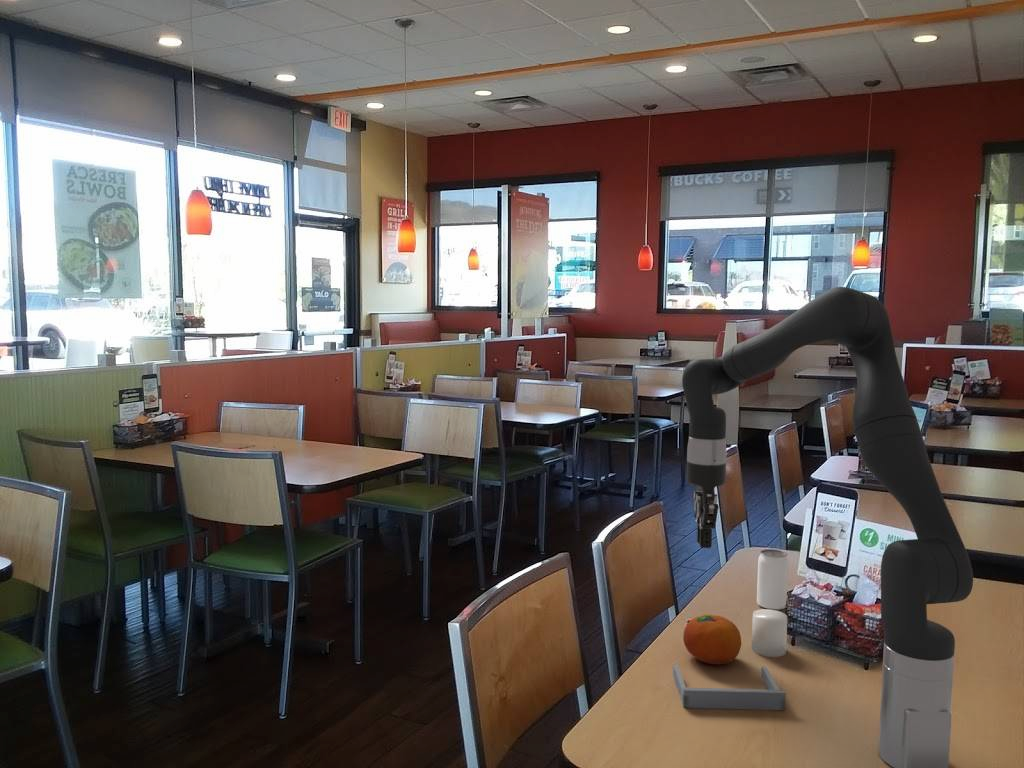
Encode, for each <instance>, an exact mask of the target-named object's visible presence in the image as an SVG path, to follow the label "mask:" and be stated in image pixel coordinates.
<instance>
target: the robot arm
mask: <svg viewBox="0 0 1024 768" xmlns="http://www.w3.org/2000/svg"><path fill="white" fill-rule="evenodd" d="M825 341H829V342H831V343H834V344H837V345H841V346H844V347H845V348H846V350H847V353H848V354H849V356H850V359H851V362H852V365H853V368H854V371H855V376H856V381H857V383H856V384H857V385H856V386H857V387H856V393H855V398H854V402H853V406H852V408H853V409H852V417H851V418H852V419H851V420H852V428H853V432H854V436H855V439H856V442H857V445H858V446H857V447H858V449H859V450H858V451H859V453H860V456H861V459H862V461H863V463H864V465H865V466H866V468H867V470H868V471H869V472H870V474H871V475H872V476H873V478H875V479H876V481H878V482H879V484H881V486H882V487H884V489H885V490H887V491H888V493H889V494H891V496H892V497H894V499H895V500H896V501H897V502H898V503H899V504H900V507H902V508H903V510H904V511H905V513H906V515H907V516H908V518H909V520H910V523H911V526H913V530H914V533H915V536H916V539H915V538H913V539H912V538H911V539H900V540H895V541H892V542H890V543H889V544H888V545H887V546H886V547H885V549H884V552H883V554H882V558H881V563H880V618H881V623H882V627H883V633H884V634H883V635H884V638H883V639H884V640H883V655H882V658H883V659H882V671H881V673H882V674H881V675H882V676H881V690H880V691H881V693H880V711H879V713H880V714H879V734H878V755H879V757H880V758H881V759H882V761H883V762H885V763H886V764H888V765H889V766H891V767H892V768H949V766H950V765H949V764H950V763H949V761H950V748H951V730H952V717H953V716H952V714H951V711H952V710H951V709H952V692H953V679H954V678H953V677H954V664H955V663H954V661H955V649H956V648H955V647H956V640H955V636H954V634H953V632H952V631H951V630H950V629H948V628H947V627H945V626H944V625H942V624H939V623H938V622H935V621H934V620H933V621H932V620H929V619H928V611H927V609H928V608H927V606H928V605H935V604H949V603H958V602H961V601H965V600H966V599H968V597H969V595H970V594H972V593H971V592H972V590H973V587H974V586H973V585H974V574H973V567H972V564H971V560H970V559H971V558H970V556H969V553H968V552H967V549H966V546H965V544H964V542H963V539H962V537H961V535H960V533H959V530H958V529H957V526H956V524H955V521H954V520H953V517H952V514H951V513H950V510H949V508H948V506H947V503H946V501H945V499H944V497H943V494H942V491H941V489H940V486H939V483H938V481H937V477H936V475H935V472H934V468H933V466H932V463H931V461H930V457H929V455H928V451H927V447H926V443H925V439H924V437H923V433H922V430H921V427H920V425H919V421H918V418H917V416H916V413H915V411H914V408H913V406H912V403H911V399H910V397H909V393H908V392H909V391H908V389H907V386H906V384H905V380H904V377H903V374H902V371H901V368H900V365H899V361H898V357H897V352H896V347H895V343H894V339H893V332H892V327H891V323H890V318H889V315H888V312H887V309H886V308H885V305H884V304H883V303H882V301H880V299H878V298H877V297H875V296H874V295H871V294H870V293H866V292H863V291H860V290H857V289H856V288H855V289H854V288H851V287H847V286H836V287H833V288H830V289H827V290H826V291H824V292H822V293H821V294H819V295H818V296H816V297H815V298H813V299H812V300H810V301H809V302H807V303H806V304H805V305H803V306H801V308H799V309H798V310H796V311H794V312H793V313H791V314H790V315H789V316H787V317H786V318H784V319H783V320H781V321H780V322H778V323H777V324H775V325H773V326H772V327H770V328H768V329H766V330H765V331H763V332H760V333H759V334H757V335H754V336H752V337H750V338H748V339H746V340H744V341H742V342H739V343H737V344H735V345H733V346H731V347H729V348H728V349H727V350H726V351H725V352H724V354H723V355H722V356H719V357H716V358H715V357H714V358H701V359H694V360H692V361H690V362H688V364H687V365H686V367H685V368H684V370H683V372H682V373H683V374H682V381H681V382H682V383H681V384H682V389H683V394H684V398H685V402H686V407H687V410H688V415H689V421H688V422H689V424H688V425H689V426H688V429H689V430H688V442H687V450H686V451H687V452H686V481H687V483H688V484H690V485H692V486H696V489H693V491H692V494H693V509H694V515H693V517H694V519H695V522H696V525H697V527H696V542H697V543H698V544H699V547H700V548H702V549H710V548H711V547H712V542H713V538H712V536H713V534H712V533H713V530H715V529H716V524H717V517H718V511H719V508H720V507H719V504H718V494H715V493H716V492H715V488H716V487H721V486H723V485H725V484H726V477H727V476H726V474H727V473H726V472H727V442H726V438H727V437H726V436H727V435H726V434H727V433H726V432H727V430H726V429H727V415H726V412H725V410H724V409H722V408H721V407H718V406H715V403H714V399H713V395H720V394H725V393H727V392H730V391H732V390H734V389H737V388H739V386H741V385H742V384H744V383H746V382H747V381H749V380H752V379H755V378H758V377H759V376H762V375H764V374H768V373H769V372H771V371H774V370H775V369H777V368H778V367H781V365H782V364H783V363H784V362H786V360H787V359H788V358H789V357H790V356H791V355H792V354H793V353H794V352H795V351H796V350H799V349H801V348H803V347H805V346H808V345H812V344H815V343H820V342H825Z"/></svg>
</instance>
